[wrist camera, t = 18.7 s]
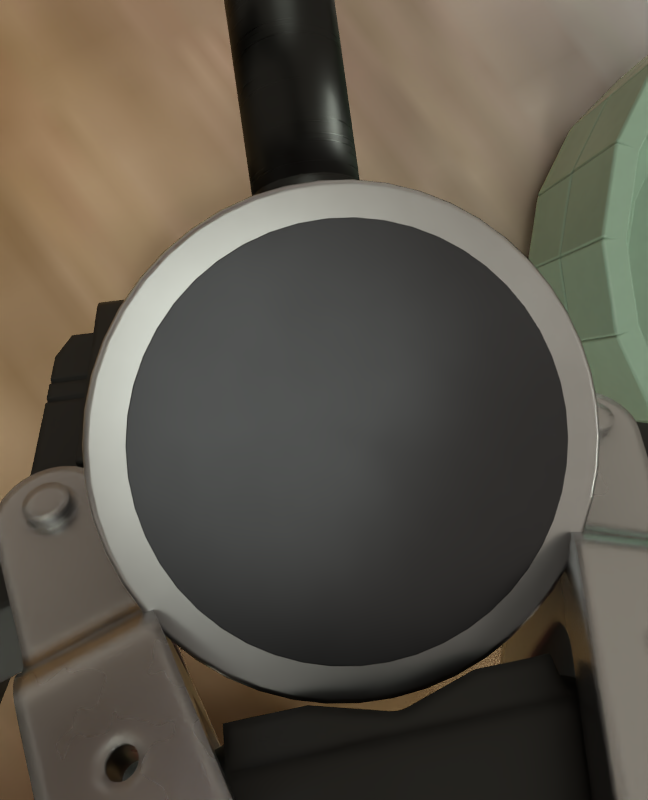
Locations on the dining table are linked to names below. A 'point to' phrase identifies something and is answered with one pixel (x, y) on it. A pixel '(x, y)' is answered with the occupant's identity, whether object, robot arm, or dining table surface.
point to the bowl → (603, 238)
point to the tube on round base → (336, 410)
